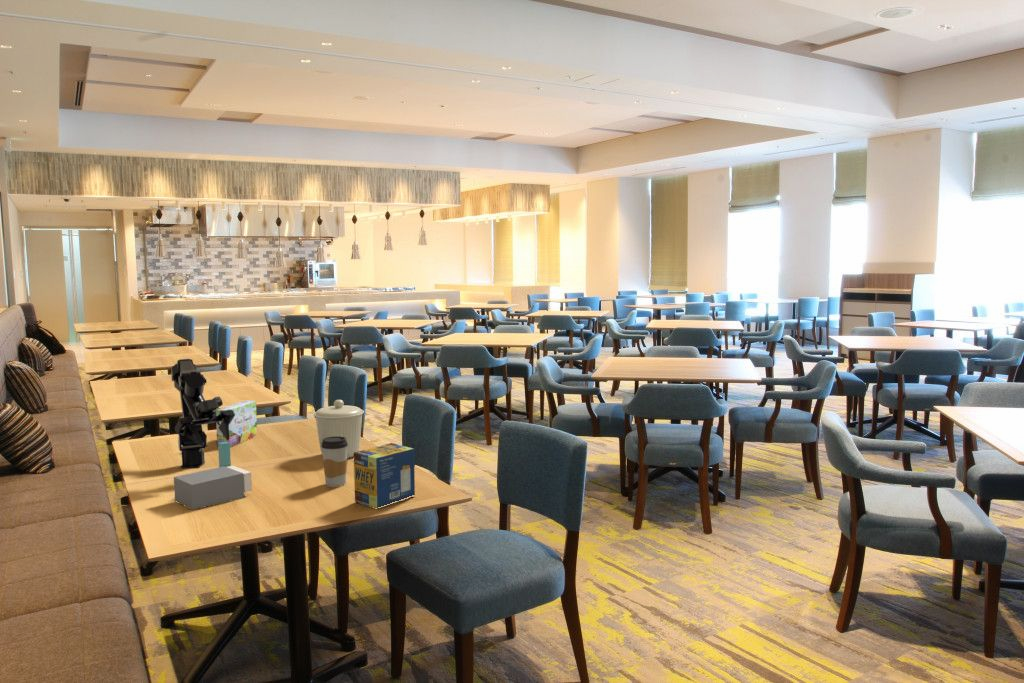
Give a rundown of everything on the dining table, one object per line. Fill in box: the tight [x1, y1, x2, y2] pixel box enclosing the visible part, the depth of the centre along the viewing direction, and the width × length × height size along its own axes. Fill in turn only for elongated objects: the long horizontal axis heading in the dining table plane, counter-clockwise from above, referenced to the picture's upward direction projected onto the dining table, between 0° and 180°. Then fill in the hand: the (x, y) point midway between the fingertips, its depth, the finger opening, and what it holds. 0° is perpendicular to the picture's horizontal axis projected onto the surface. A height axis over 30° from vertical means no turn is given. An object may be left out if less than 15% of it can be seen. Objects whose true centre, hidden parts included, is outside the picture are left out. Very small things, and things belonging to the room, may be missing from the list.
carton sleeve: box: [173, 466, 245, 510], centre depth 234 cm, size 16×12×8 cm
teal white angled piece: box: [217, 441, 253, 493], centre depth 237 cm, size 17×16×13 cm
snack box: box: [215, 400, 258, 448], centre depth 307 cm, size 21×6×15 cm, turn 168°
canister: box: [313, 399, 365, 459], centre depth 284 cm, size 18×18×21 cm
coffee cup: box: [321, 436, 348, 488], centre depth 248 cm, size 8×8×15 cm
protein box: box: [353, 442, 416, 509], centre depth 232 cm, size 10×15×16 cm
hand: (215, 442), depth 251 cm, fingers open, 9 cm apart
